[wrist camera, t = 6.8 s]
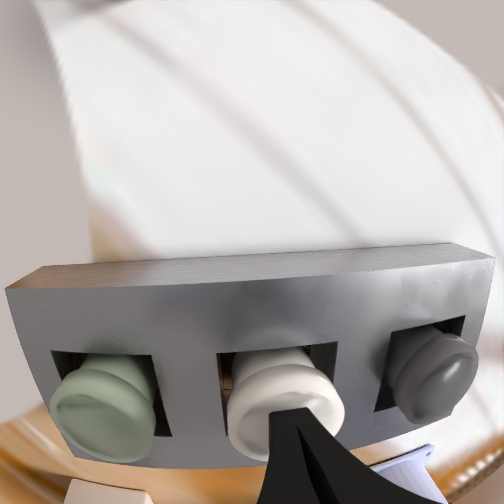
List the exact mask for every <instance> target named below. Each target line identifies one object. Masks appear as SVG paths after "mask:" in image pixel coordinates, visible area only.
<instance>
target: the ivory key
mask: <svg viewBox="0 0 504 504" xmlns="http://www.w3.org/2000/svg"><path fill="white" fill-rule="evenodd" d="M231 372H232V385H233V392H232V394H231V395H230V397H229V400H228V403H227V422H228V435H229V439H230V441H231V443H232V445H233V446H234V447H235V448H236V449H237V450H238V451H239V452H240V453H242V454H243V455H245V456H247V457H250V458H252V459H256V460H260V461H267V462H268V458H269V414H270V413H271V412H274V411H282V410H290V409H297V408H303V407H307V408H309V409H310V410H311V412H312V413H313V414H314V415H315V417H316V418H317V419H318V420H319V421H320V422H321V424H322V425H323V426H324V427H325V428H326V429H327V430H328V431H329V432H330V433H331V434H332V435H333V436H335V435H336V434H337V432H338V431H339V429H340V428H341V425H342V423H343V420H344V414H345V412H344V406H343V403H342V401H341V399H340V397H339V396H338V394H337V392H336V390H335V388H334V387H333V385H332V383H331V381H330V380H329V378H328V377H327V376H326V375H325V374H324V373H322V372H321V371H319V370H318V369H315V367H314V365H313V363H312V361H311V359H310V357H309V355H308V353H307V351H306V349H305V348H304V346H296V347H287V348H277V349H266V350H255V351H242V352H237V353H236V355H235V357H234V359H233V362H232V367H231Z"/></svg>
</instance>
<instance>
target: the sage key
mask: <svg viewBox="0 0 504 504" xmlns="http://www.w3.org/2000/svg"><path fill="white" fill-rule="evenodd" d="M157 387H158V382H157V377H156V373H155V369H154V364H153V361H152V360H151V359H150V358H149V357H148V356H147V355H127V354H98V353H89V355H88V356H87V358H86V359H85V361H84V362H83V364H82V365H81V367H80V368H79V370H75V371H73V372H71V373H69V374H68V375H67V376H66V377H65V378H64V379H63V381H62V382H61V384H60V385H59V387H58V388H57V390H56V391H55V393H54V394H53V396H52V398H51V400H50V406H49V408H50V414H51V417H52V419H53V421H54V423H55V425H56V427H57V428H58V429H59V431H60V432H61V433H62V434H63V435H64V437H65V438H67V439H68V440H69V441H70V442H71V443H72V444H73V445H75V446H76V447H78V448H79V449H81V450H82V451H84V452H86V453H88V454H90V455H92V456H94V457H96V458H99V459H102V460H106V461H110V462H117V463H129V462H135V461H138V460H140V459H142V458H144V457H145V456H146V455H147V454H148V453H149V452H150V449H151V446H152V441H153V436H154V431H155V426H156V417H155V413H154V410H153V408H152V407H153V403H154V399H155V395H156V391H157Z"/></svg>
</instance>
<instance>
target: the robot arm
mask: <svg viewBox="0 0 504 504" xmlns="http://www.w3.org/2000/svg"><path fill="white" fill-rule="evenodd" d="M433 450H434V446H433V445H429V446H426V447H424V448H421V449H419V450H417V451H414V452H411V453H409V454H406V455H404V456H401V457H398V458H395V459H393V460H390V461H387V462H384V463H381V464H378V465H375V466H371V467H368V466H366V465H365V464H364V463H363V462H361V461H360V460H359V459H358V458H356V457H355V456H354V455H353V454H352V453H350V452H349V451H348V450H347V449H346V448H345V447H344V446H343V445H342V444H341V443H340V442H339V441H338V440H337V439H336V438H334V436H333V435H332V434H331V433H330V432H329V431H328V430H327V429H326V428H325V427H324V426H323V425H322V424H321V422H320V421H319V420H318V419H317V418H316V417H315V415H314V414H313V413H312V412H311V410H310V409H309V408H307V407H303V408H297V409H290V410H282V411H274V412H271V413H270V414H269V458H268V464H267V469H266V473H265V478H264V482H263V485H262V489H261V492H260V495H259V498H258V502H257V504H448V502H447V501H446V499H445V498H444V496H443V495H442V493H441V492H440V490H439V489H438V487H437V486H436V484H435V483H434V481H433V480H432V478H431V477H430V475H429V474H428V472H427V471H426V469H425V468H424V466H425V464H426V463H427V461H428V459H429V457H430V455H431V454H432V452H433Z"/></svg>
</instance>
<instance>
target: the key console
mask: <svg viewBox="0 0 504 504" xmlns="http://www.w3.org/2000/svg"><path fill="white" fill-rule="evenodd" d="M494 263H495V257H492V256H490V255H487V254H484V253H481V252H478V251H475V250H473V249H470V248H467V247H464V246H461V245H458V244H455V243H445V244H429V245H412V246H395V247H378V248H362V249H344V250H327V251H310V252H293V253H275V254H257V255H240V256H222V257H204V258H185V259H167V260H149V261H130V262H111V263H92V264H73V265H54V266H43V267H41V268H40V269H37V270H36V271H34V272H32V273H30V274H29V275H27V276H25V277H23V278H22V279H20V280H18V281H17V282H15V283H13V284H11V285H10V286H8V287H6V288H5V291H6V296H7V300H8V304H9V307H10V311H11V314H12V318H13V321H14V325H15V328H16V331H17V334H18V337H19V340H20V343H21V346H22V349H23V351H24V354H25V357H26V360H27V362H28V365H29V368H30V370H31V372H32V375H33V377H34V380H35V382H36V384H37V387H38V389H39V391H40V393H41V395H42V398H43V400H44V402H45V404H46V406H47V408H48V410H49V412H50V408H49V406H50V400H51V398H52V396H53V394H54V393H55V391H56V390H57V388H58V387H59V385H60V384H61V382H62V381H63V379H64V378H65V377H66V376H67V375H68V374H69V373H71V372H73V371H75V370H79V368H80V367H81V365H82V364H83V362H84V361H85V359H86V358H87V356H88V355H89V353H98V354H127V355H152V360H153V364H154V369H155V373H156V377H157V382H158V386H159V390H160V391H156V395H155V399H154V403H153V407H152V408H153V410H154V413H155V417H156V426H155V431H154V436H153V441H152V446H151V449H150V452H149V453H148V454H147V455H146V456H145V457H144V458H142V459H140V460H138V461H135V462H129V463H117V462H110V461H106V460H102V459H99V458H96V457H94V456H92V455H90V454H88V453H86V452H84V451H82V450H81V449H79V448H78V447H76V446H75V445H73V444H72V443H71V442H70V441H69V440H68V439H67V438H65V437H64V435H63V434H62V433H61V432H60V433H61V435H62V436H63V438H64V440H65V442H66V443H67V445H68V447H69V448H70V450H71V452H72V453H73V455H74V457H78V458H83V459H88V460H94V461H100V462H106V463H113V464H120V465H129V466H138V467H150V468H166V469H226V468H242V467H254V466H264V465H267V464H268V462H267V461H260V460H256V459H252V458H250V457H247V456H245V455H243V454H242V453H240V452H239V451H238V450H237V449H236V448H235V447H234V446H233V445H232V443H231V441H230V439H229V435H228V422H227V403H228V400H229V397H230V395H231V394H232V392H233V389H231V390H224V388H223V379H222V370H221V360H220V353H227V352H242V351H255V350H266V349H277V348H287V347H296V346H304V345H311V350H310V359H311V361H312V363H313V365H314V367H315V369H318V370H319V371H321V372H322V373H324V374H325V375H326V376H327V377H328V378H329V380H330V381H331V383H332V385H333V387H334V388H335V390H336V392H337V394H338V396H339V397H340V399H341V401H342V403H343V406H344V412H345V414H344V420H343V423H342V425H341V428H340V429H339V431H338V432H337V434H336V435H335V436H334V438H336V439H337V440H338V441H339V442H340V443H341V444H342V445H343V446H344V447H345V448H346V449H347V450H352V449H356V448H360V447H363V446H367V445H371V444H374V443H377V442H381V441H384V440H387V439H390V438H393V437H396V436H399V435H402V434H405V433H408V432H410V431H413V430H416V429H418V428H421V427H423V426H426V425H429V424H431V423H433V422H436V421H438V420H441V419H443V418H445V417H447V416H450V415H451V413H452V411H453V408H454V407H453V408H452V409H451V410H450V411H448V412H447V413H446V414H444V415H443V416H441V417H440V418H438V419H436V420H434V421H432V422H429V423H426V424H420V425H418V424H412V423H411V422H409V421H408V420H407V418H406V417H405V416H404V414H403V413H402V412H401V410H400V409H399V408H398V406H397V405H396V404H395V402H394V399H393V389H392V388H391V387H390V385H389V384H388V383H387V382H386V380H385V379H384V378H383V377H382V376H383V372H384V367H385V362H386V357H387V352H388V347H389V342H390V336H391V332H393V331H398V330H403V329H407V328H412V327H417V326H421V325H426V324H431V325H432V326H434V327H435V328H436V329H438V330H439V331H440V332H442V333H443V334H446V333H451V334H455V335H457V336H458V337H460V338H461V339H462V340H464V341H465V342H466V343H468V344H469V345H470V346H472V347H473V348H474V349H475V348H476V345H477V342H478V338H479V335H480V331H481V327H482V323H483V319H484V315H485V311H486V307H487V302H488V297H489V292H490V287H491V282H492V276H493V270H494Z"/></svg>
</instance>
